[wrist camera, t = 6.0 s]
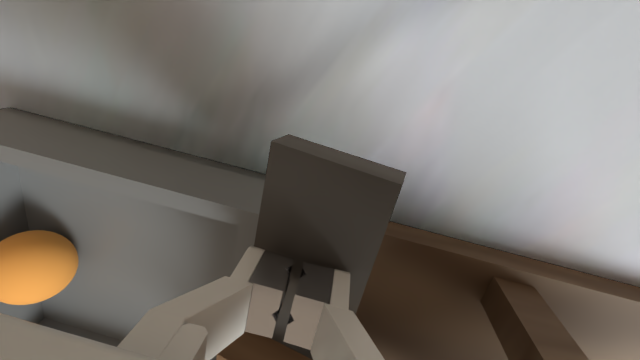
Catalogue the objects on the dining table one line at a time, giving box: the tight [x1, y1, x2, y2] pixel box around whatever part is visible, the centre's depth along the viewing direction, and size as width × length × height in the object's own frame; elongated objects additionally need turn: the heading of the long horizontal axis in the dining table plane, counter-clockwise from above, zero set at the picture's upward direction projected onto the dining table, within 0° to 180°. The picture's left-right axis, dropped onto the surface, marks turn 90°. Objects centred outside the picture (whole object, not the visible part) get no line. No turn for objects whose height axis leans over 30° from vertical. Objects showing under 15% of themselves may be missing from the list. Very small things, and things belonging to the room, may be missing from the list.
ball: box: [0, 230, 78, 305], centre depth 17 cm, size 4×4×4 cm
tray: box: [0, 108, 266, 360], centre depth 18 cm, size 16×16×4 cm
